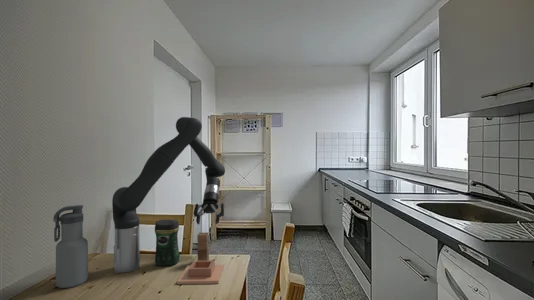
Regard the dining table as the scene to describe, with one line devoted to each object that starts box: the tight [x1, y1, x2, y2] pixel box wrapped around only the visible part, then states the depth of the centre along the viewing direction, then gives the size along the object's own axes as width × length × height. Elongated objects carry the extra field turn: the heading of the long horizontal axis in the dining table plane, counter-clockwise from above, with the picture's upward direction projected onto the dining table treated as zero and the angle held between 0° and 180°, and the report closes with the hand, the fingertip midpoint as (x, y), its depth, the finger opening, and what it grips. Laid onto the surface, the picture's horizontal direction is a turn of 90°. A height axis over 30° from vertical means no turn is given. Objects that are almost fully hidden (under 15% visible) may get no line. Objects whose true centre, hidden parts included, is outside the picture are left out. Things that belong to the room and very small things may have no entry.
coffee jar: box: [154, 219, 180, 266], centre depth 123 cm, size 10×8×19 cm
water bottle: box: [52, 204, 89, 289], centre depth 105 cm, size 10×10×28 cm
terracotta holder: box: [176, 259, 225, 285], centre depth 110 cm, size 15×15×4 cm
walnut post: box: [196, 231, 210, 261], centre depth 124 cm, size 4×4×12 cm
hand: (207, 223), depth 134 cm, fingers open, 8 cm apart
